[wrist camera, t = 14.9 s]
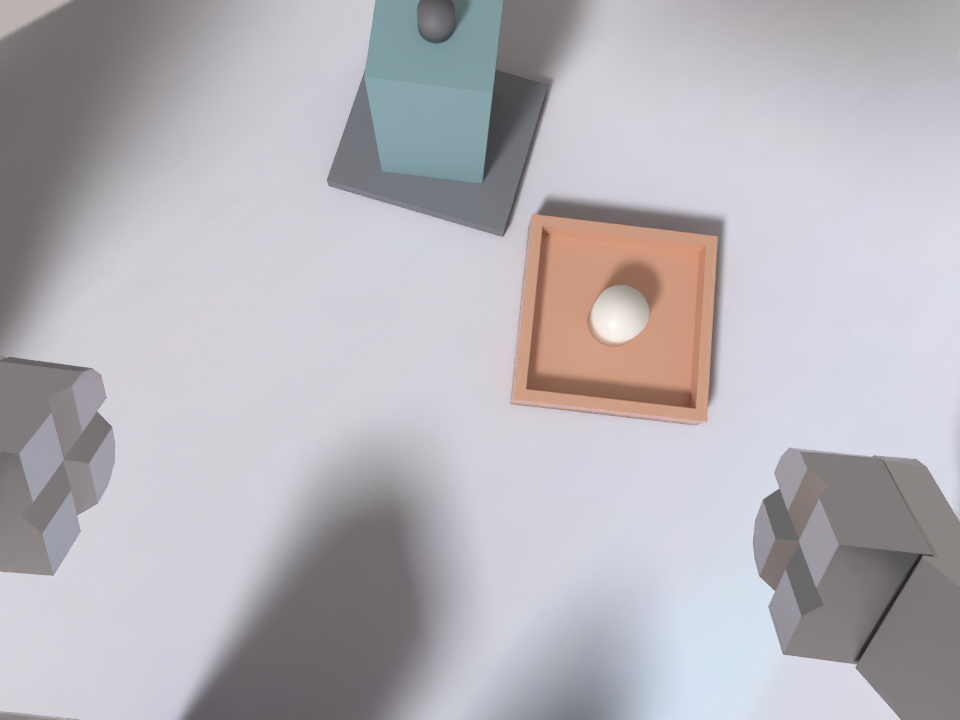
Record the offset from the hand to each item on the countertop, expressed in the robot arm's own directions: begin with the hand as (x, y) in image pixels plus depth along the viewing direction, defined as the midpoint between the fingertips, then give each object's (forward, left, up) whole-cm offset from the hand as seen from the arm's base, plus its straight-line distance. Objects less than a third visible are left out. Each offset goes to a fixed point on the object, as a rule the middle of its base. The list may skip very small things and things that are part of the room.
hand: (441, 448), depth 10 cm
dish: (+6, +11, -33) cm, 36 cm away
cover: (-6, +19, -33) cm, 38 cm away
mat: (-6, +19, -33) cm, 39 cm away
